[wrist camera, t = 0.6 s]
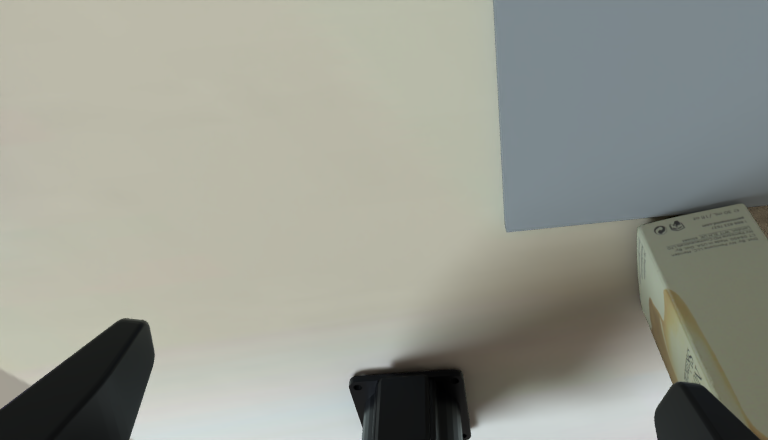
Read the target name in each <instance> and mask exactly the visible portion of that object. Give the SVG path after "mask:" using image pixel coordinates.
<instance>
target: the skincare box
mask: <svg viewBox="0 0 768 440" xmlns="http://www.w3.org/2000/svg"><path fill="white" fill-rule="evenodd" d="M637 268H638V282H639V291H640V300H641V307H642V310H643V312H644V315H645V317H646V319H647V322H648V324H649V327H650V329H651V332H652V334H653V337H654V340H655V342H656V344H657V347H658V349H659V352H660V354H661V357H662V359H663V361H664V363H665V366H666V369H667V371H668V373H669V376H670V378H671V381H672V383H673V384H674V383H676V382H679V381H681V382H690V383H697V384H700V385H702V386H704V387H705V388H706V389H708V390H709V391H710V392H711V393H712V394H713V395H714V396H715V397H716V398H717V399H718V400H719V401H720V402H721V403H722V404H723V405H725V406H726V407H727V408H728V409H729V410H730V411H731V412H732V413H733V414H734V415H735V416H736V417H737V418H738V419H739V420H740V421H741V422H743V423H744V424H745V425H746V426H747V427H748V428H749V429H750V430H751V431H752V432H753V433H754V434H755V435H756V436H757V437H758V438H759V439H761V440H768V239H767V237H766V236H765V234H764V233H763V231H762V230H761V228H760V227H759V225H758V224H757V222H756V221H755V219H754V218H753V216H752V215H751V213H750V212H749V210H748V209H747V207H746V206H745V205H744V204H742V203H741V204H735V205H730V206H726V207H721V208H716V209H711V210H706V211H701V212H696V213H691V214H687V215H682V216H678V217H673V218H669V219H665V220H660V221H656V222H653V223H648V224H644V225H640V226H639V227H638V229H637Z"/></svg>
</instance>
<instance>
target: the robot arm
mask: <svg viewBox="0 0 768 440" xmlns="http://www.w3.org/2000/svg"><path fill="white" fill-rule="evenodd" d="M154 357H155V353H154V347H153V342H152V337H151V332H150V327H149V324H148V323H147V322H146V321H144V320H137V319H129V318H124V319H121V320H119V321H117V322H116V323H114V324H113V325H112V326H110V327H109V328H108V329H106V330H105V331H104V332H102V333H101V334H100V335H98V336H97V337H96V338H94V339H93V340H92V341H90V342H89V343H88V344H86V345H85V346H84V347H82V348H81V349H80V350H78V351H77V352H76V353H74V354H73V355H72V356H70V357H69V358H68V359H66V360H65V361H64V362H62V363H61V364H60V365H58V366H57V367H56V368H55V369H53V370H52V371H51V372H49V373H48V374H47V375H45V376H44V377H43V378H41V379H40V380H39V381H37V382H36V383H35V384H33V385H32V386H31V387H29V388H28V389H27V390H25V391H24V392H23V393H21V394H20V395H19V396H18V397H16V398H15V399H13V400H12V401H11V402H9V403H8V404H7V405H5V406H4V407H3V408H1V409H0V440H129V439H130V436H131V432H132V429H133V426H134V423H135V420H136V417H137V414H138V411H139V408H140V405H141V402H142V399H143V395H144V392H145V389H146V386H147V383H148V380H149V377H150V374H151V371H152V368H153V364H154ZM349 389H350V392H351V395H352V398H353V401H354V404H355V407H356V410H357V413H358V416H359V419H360V422H361V424H362V427H363V432H362V440H468V439H469V438H470V437H471V430H470V423H469V415H468V408H467V401H466V393H465V386H464V379H463V374H462V372H461V371H459V370H439V371H425V372H410V373H396V374H382V375H368V376H356V377H352V378H351V379H350V382H349ZM654 421H655V428H656V433H657V439H658V440H761V439H759V438H758V437H757V436H756V435H755V434H754V433H753V432H752V431H751V430H750V429H749V428H748V427H747V426H746V425H745V424H744V423H743V422H741V421H740V420H739V419H738V418H737V417H736V416H735V415H734V414H733V413H732V412H731V411H730V410H729V409H728V408H727V407H726V406H725V405H723V404H722V403H721V402H720V401H719V400H718V399H717V398H716V397H715V396H714V395H713V394H712V393H711V392H710V391H709V390H708V389H706V388H705V387H704V386H702V385H700V384H697V383H690V382H681V381H679V382H676V383H674V384H673V385H672V386H671V387H670V389H669V390H668V392H667V393H666V395H665V396H664V398H663V399H662V401H661V402H660V404H659V405H658V407H657V408H656V411H655V416H654Z"/></svg>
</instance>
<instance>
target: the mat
mask: <svg viewBox="0 0 768 440" xmlns="http://www.w3.org/2000/svg"><path fill="white" fill-rule="evenodd" d="M493 6H494V25H495V44H496V64H497V83H498V102H499V122H500V141H501V160H502V180H503V199H504V218H505V227H506V232H514V231H524V230H534V229H543V228H553V227H563V226H572V225H582V224H592V223H601V222H611V221H621V220H630V219H640V218H650V217H659V216H669V215H679V214H688V213H696V212H701V211H706V210H711V209H716V208H721V207H726V206H730V205H735V204H741V203H742V204H744V205H745V206H746V207H756V206H766V205H768V0H493Z"/></svg>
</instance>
